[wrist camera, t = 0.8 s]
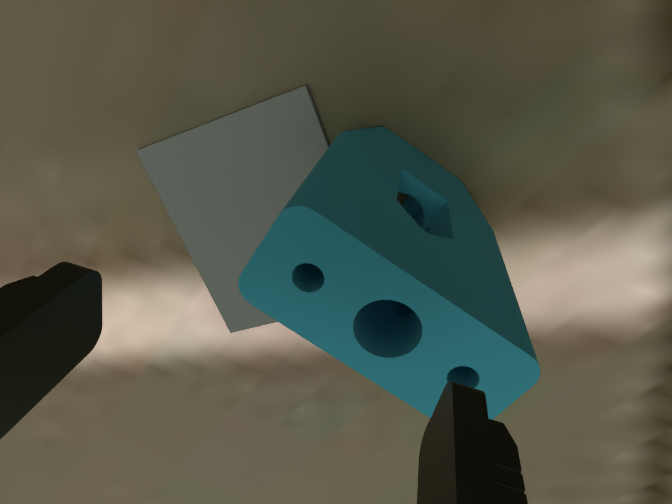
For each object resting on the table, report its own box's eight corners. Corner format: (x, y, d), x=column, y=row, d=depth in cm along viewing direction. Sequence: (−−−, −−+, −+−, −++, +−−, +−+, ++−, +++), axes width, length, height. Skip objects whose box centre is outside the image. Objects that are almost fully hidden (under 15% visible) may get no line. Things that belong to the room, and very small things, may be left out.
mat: (307, 84, 35) (305, 85, 34) (384, 293, 41) (383, 296, 41) (139, 149, 39) (135, 150, 39) (232, 329, 46) (230, 332, 45)
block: (488, 199, 36) (551, 369, 19) (445, 247, 39) (466, 440, 21) (357, 107, 35) (291, 195, 17) (321, 162, 37) (229, 290, 19)
